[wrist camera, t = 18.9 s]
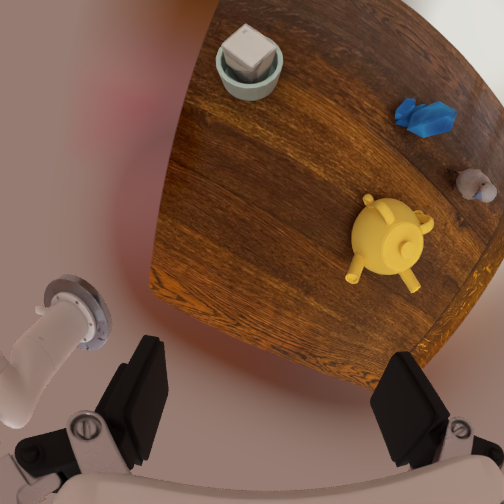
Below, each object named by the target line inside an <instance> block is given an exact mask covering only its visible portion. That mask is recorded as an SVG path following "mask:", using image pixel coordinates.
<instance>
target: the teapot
mask: <svg viewBox="0 0 504 504" xmlns="http://www.w3.org/2000/svg"><path fill="white" fill-rule="evenodd" d="M363 201H364V204H365V205H366V207H365V208H364V209H363V210H362V211H361V212H360V214H359V215H358V217H357V218H356V220H355V223H354V225H353V229H352V236H351V239H352V248H353V251H354V254H355V255H354V257H353V260H352V262H351V265H350V267H349V270H348V272H347V275H346V280H347V281H348V282H349V283H351V284H355V283H357V282H358V280H359V278H360V275H361V272H362V270H363V267H366V268H367V269H369V270H370V271H373V272H375V273H378V274H384V275H392V274H397V273H398V274H399V275H400V276H401V278H402V280H403V281H404V283H405V284H406V286H407V287H408V289H409V290H410V292H411V293H414V292H415V291H417V290H418V289H419V288H420V287H421V286H420V284H419V282H418V281H417V279H416V277H415V276H414V274H413V272H412V271H411V269H410V267H411V266H413V265H414V264H415V263H416V261H417V260H418V259H419V257H420V255H421V252H422V249H423V234H426V233H428V232H429V231H431V230H432V228H433V227H434V221H433V219H432V217H431V216H429V215H424V213H423V212H422V211H421V210H416V211H414V212H413V211H412V210H411V209H410V208H409V207H408V206H407V205H406V204H404V203H403V202H401V201H399V200H396V199H392V198H383V199H378V200H376V201H374V199H373V197H372V196H371V195H370V194H366V195H364V197H363ZM420 223H425V224H423V225H420Z"/></svg>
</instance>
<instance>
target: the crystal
mask: <svg viewBox="0 0 504 504" xmlns="http://www.w3.org/2000/svg"><path fill="white" fill-rule="evenodd" d="M415 102H416V99H409V98H406V99H405V100H404V101H403V103H402V104H401V105H400V106H399V107H398V108H397V109H396V111H395V119H396V123H395V124H397V125H399V126H402V127H407V130H408V131H410V132H412V133H414V134H416V135H418V136H420V137H422V138H425V137H428V136H432V135H436V134H440V133H444V132H448V131H451V129H452V126H453V123H454V120H455V117H456V114H457V111H456V110H454V109H452V108H450V107H449V106H447V105H445V104H443V103H442V102H440V101H437V102H435V103H433V104H430V105H426V104H421V105H417V106H415Z"/></svg>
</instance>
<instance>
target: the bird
mask: <svg viewBox="0 0 504 504" xmlns="http://www.w3.org/2000/svg"><path fill="white" fill-rule="evenodd" d="M448 170H449V171H450V172H449V173H447V174H451V175H450V178H451V176H452V174H453V173H457V174H460V175H459V176H458V177H457V179H456V184H455V183H453V182H450V181H449V182H450V183H452V185H450V187H451V186H453V188H452V190H453V189H454V187H455V186H457V188H458V190H459V191H460V192H461V193H462V194H463V195H462V196H463V197H464V198H466V199H478V200H480V201H482V202H484V203H486V202H491V201H492V200H493V199H494V198H495V196H496V194H497V189H496V187H495V186H494V185H493V184H491V182H490V180H489V178H488V177H487V176H486V175H485V174H483V173H481V171H480V170H478V169H466V170H464V171H459V172H456V171H453V170H450V169H448ZM452 190H451V191H452Z"/></svg>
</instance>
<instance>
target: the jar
mask: <svg viewBox="0 0 504 504" xmlns="http://www.w3.org/2000/svg"><path fill="white" fill-rule="evenodd" d="M266 38H267V37H266ZM267 39H269V38H267ZM269 40H270V41H271V42H273V41H272V40H271V39H269ZM273 43H274V42H273ZM274 44H275V43H274ZM275 45H276V44H275ZM276 46H277V49H276V51H275V55H274V58H273V62H272V65H271V69H270V73H269V76H268V77H267V78H266V79H265V80H264V81H262V82H259V83H256V84H244V83H239V82H237V81H236V80H234V79H233V78H232V77H231V76H230V75H229V74H228V70H227V66H226V61H225V57H224V52H223V48H222V46H221V47H220V49H219V50H218V53H217V56H216V67H217V70H218V72H219V75H220V77H221V80H222V82H223V84H224V86H225V88H226V90H227V91H228V92H229V93H230V94H231V95H233V96H234V97H236V98H238V99H241V100H246V101H254V100H259V99H262V98H264V97H266V96H268V95H269V94H270V93H271V92H272V91H273V90H274V88H275V87H276V85H277V82H278V79H279V75H280V72H281V69H282V65H283V56H282V52H281V51H280V49H279V47H278V45H276Z"/></svg>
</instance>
